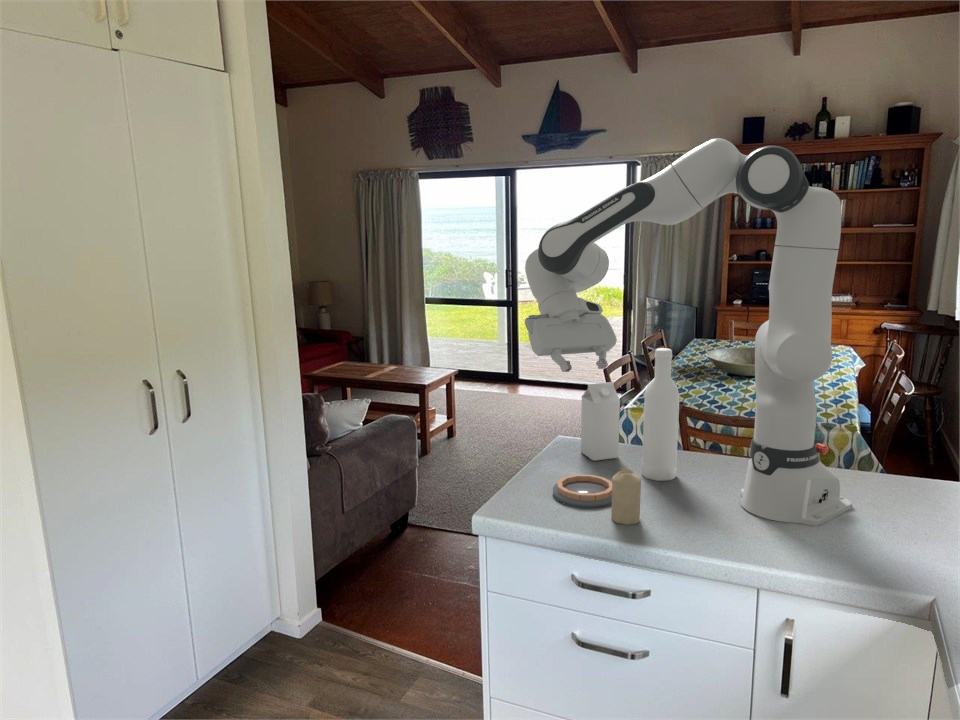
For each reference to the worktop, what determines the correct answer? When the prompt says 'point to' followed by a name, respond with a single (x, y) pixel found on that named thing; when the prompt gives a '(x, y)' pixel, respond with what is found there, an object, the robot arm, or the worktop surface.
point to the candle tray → (583, 491)
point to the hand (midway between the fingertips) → (585, 369)
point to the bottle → (661, 421)
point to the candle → (626, 497)
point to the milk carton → (600, 421)
